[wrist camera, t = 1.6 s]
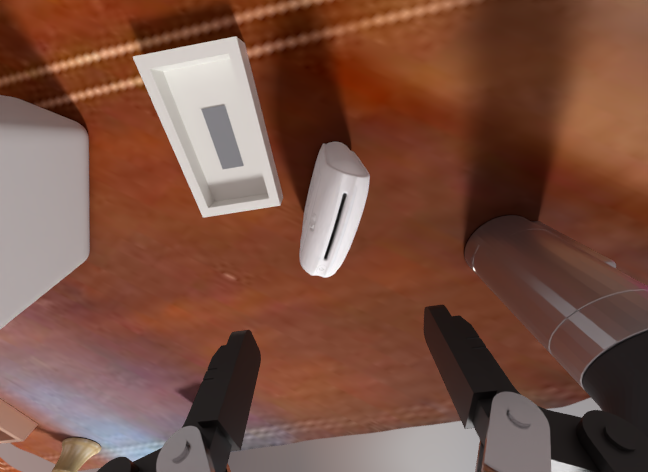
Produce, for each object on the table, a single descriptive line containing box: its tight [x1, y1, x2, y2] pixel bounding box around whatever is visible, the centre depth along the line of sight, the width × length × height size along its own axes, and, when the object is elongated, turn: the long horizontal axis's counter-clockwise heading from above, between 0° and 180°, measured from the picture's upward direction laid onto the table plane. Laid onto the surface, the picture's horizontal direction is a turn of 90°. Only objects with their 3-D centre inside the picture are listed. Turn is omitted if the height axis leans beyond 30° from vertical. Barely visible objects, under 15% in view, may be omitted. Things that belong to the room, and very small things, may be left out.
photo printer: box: [300, 142, 370, 277], centre depth 23 cm, size 10×4×12 cm, turn 165°
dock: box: [133, 36, 283, 217], centre depth 25 cm, size 9×15×3 cm, turn 9°
